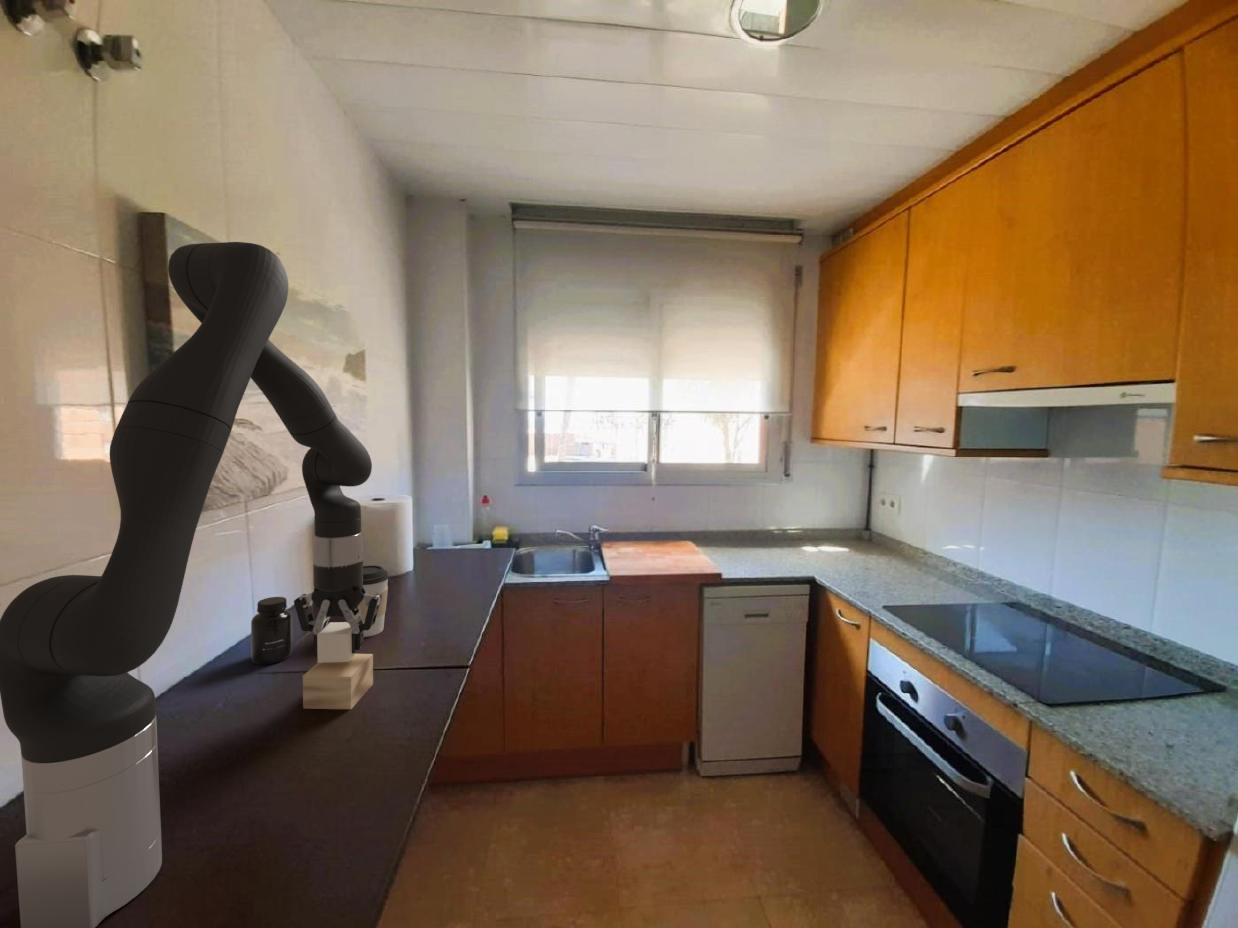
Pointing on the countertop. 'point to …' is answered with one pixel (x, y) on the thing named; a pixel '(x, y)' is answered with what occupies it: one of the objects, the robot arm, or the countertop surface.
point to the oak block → (337, 683)
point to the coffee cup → (374, 584)
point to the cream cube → (335, 643)
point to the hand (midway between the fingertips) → (339, 651)
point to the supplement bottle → (271, 631)
